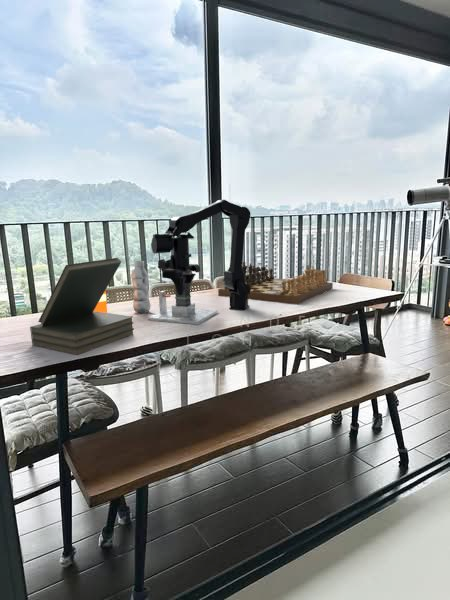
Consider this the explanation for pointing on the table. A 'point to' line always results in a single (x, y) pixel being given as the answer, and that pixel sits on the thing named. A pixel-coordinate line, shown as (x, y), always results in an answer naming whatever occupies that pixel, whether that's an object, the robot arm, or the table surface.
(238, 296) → the robot arm
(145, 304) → the plastic bottle
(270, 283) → the chess set
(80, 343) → the bible
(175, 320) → the base
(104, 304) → the orange juice
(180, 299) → the block
